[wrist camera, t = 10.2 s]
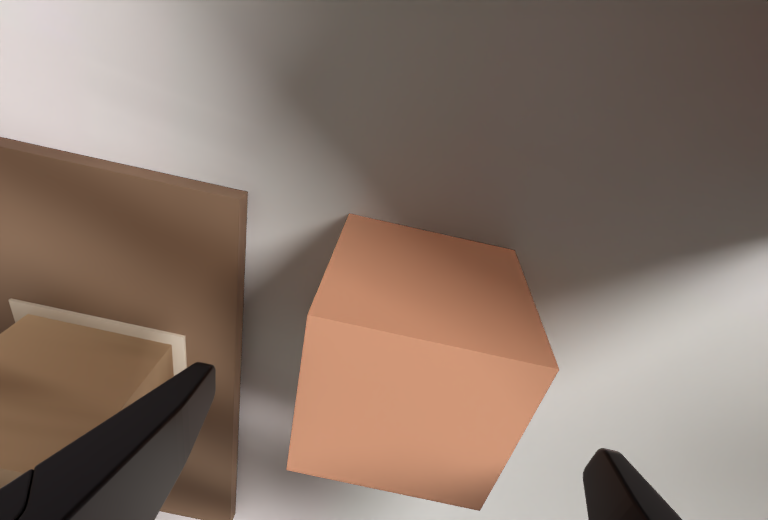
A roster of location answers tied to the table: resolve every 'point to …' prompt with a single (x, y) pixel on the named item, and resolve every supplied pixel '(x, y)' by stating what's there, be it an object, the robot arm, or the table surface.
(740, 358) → the table surface
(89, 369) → the oak cube
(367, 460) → the terracotta cube
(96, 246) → the brown flat panel
